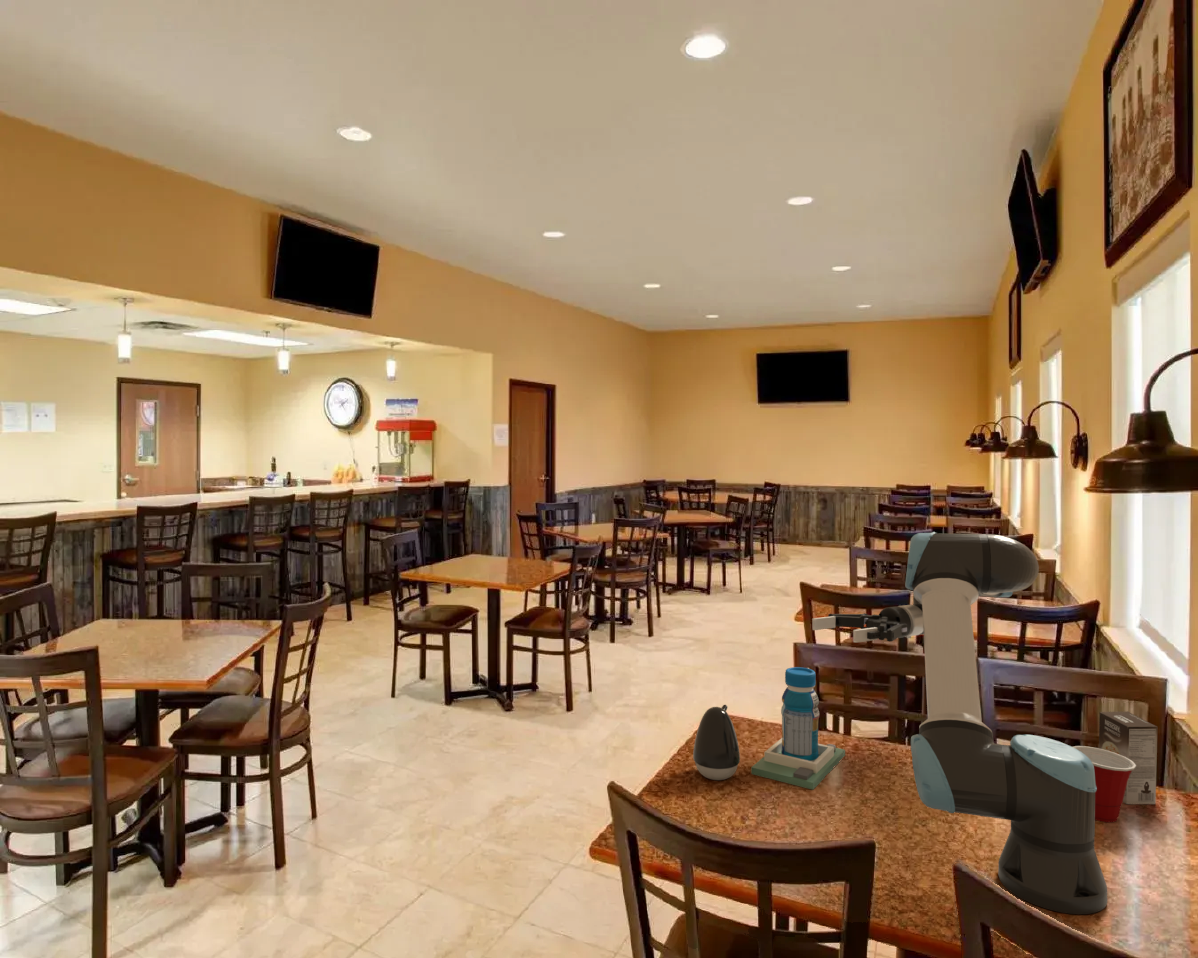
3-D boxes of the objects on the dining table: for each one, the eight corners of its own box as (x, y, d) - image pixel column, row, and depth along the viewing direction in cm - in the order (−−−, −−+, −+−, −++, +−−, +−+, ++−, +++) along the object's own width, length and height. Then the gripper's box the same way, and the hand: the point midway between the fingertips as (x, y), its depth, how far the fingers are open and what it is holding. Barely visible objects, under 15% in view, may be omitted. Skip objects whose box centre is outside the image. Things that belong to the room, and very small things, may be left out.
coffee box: (1096, 785, 159) (1097, 710, 158) (1126, 785, 159) (1127, 710, 158) (1126, 804, 150) (1127, 725, 149) (1158, 804, 149) (1159, 725, 149)
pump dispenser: (747, 771, 166) (747, 704, 166) (729, 789, 157) (729, 718, 157) (705, 762, 172) (705, 696, 171) (685, 778, 163) (685, 709, 162)
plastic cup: (1146, 831, 139) (1147, 768, 138) (1082, 826, 141) (1083, 763, 141) (1118, 805, 149) (1119, 746, 149) (1059, 800, 151) (1060, 742, 151)
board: (813, 789, 157) (813, 773, 157) (751, 773, 165) (751, 758, 165) (845, 755, 175) (845, 741, 175) (787, 743, 183) (788, 728, 183)
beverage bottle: (792, 766, 165) (792, 676, 165) (774, 752, 173) (774, 666, 173) (826, 762, 167) (826, 674, 167) (807, 748, 175) (807, 664, 175)
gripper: (942, 648, 171) (873, 658, 162) (862, 626, 194) (797, 634, 185) (943, 616, 171) (873, 624, 162) (863, 598, 193) (798, 604, 185)
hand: (833, 630), depth 173 cm, fingers open, 13 cm apart
